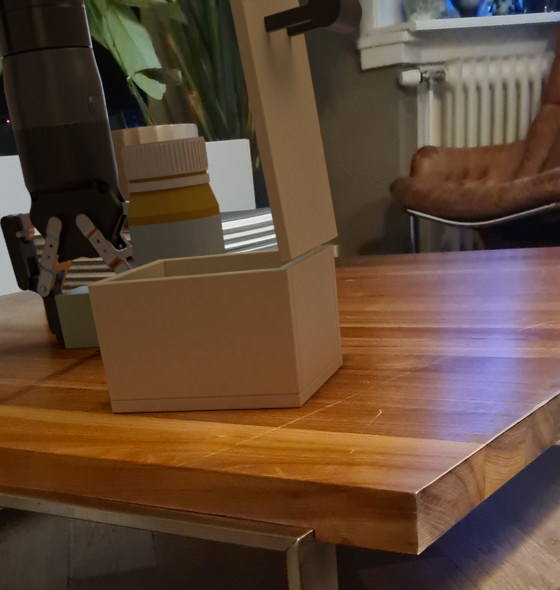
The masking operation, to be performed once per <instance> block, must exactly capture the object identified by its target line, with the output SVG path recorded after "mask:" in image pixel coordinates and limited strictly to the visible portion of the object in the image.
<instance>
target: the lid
mask: <svg viewBox="0 0 560 590" xmlns="http://www.w3.org/2000/svg"><path fill="white" fill-rule="evenodd" d="M229 3H230V4H229V5H230V10H231V15H232V19H233V25H234V31H235V35H236V36H235V37H236V40H237V45H238V50H239V56H240V61H241V65H242V71H243V75H244V81H245V88H246V92H247V97H248V103H249V107H250V112H251V117H252V122H253V127H254V132H255V137H256V142H257V147H258V153H259V158H260V163H261V168H262V173H263V178H264V184H265V188H266V194H267V198H268V205H269V209H270V214H271V221H272V225H273V230H274V235H275V241H276V245H277V249H278V251H279V256H280V261H281V262H284V261H289V260H292V259H294V258H296V257H298V256H300V255H302V254H304V253H306V252H308V251H310V250H312V249H314V248H316V247H318V246H320V245H325V243H328V242H330V241H331V240H334V239H335V238H337V237H339V234H338V229H337V222H336V217H335V211H334V204H333V199H332V193H331V187H330V180H329V174H328V168H327V163H326V158H325V151H324V144H323V139H322V133H321V127H320V119H319V115H318V109H317V103H316V97H315V92H314V86H313V85H314V84H313V79H312V73H311V68H310V67H311V66H310V61H309V56H308V50H307V49H308V48H307V44H306V37H305V34H307V33H311V32H314V31H319V30H322V29H325V30H330V31H334V32H337V33H342V34H349V33H352V32H354V31H355V30H356V29H357V28H358V27H359V26H360V23H361V21H362V18H363V9H362V5H361V3H360V1H359V0H307V3H305V4H302V5H300V2H299V0H229Z"/></svg>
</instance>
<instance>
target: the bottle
mask: <svg viewBox="0 0 560 590" xmlns="http://www.w3.org/2000/svg"><path fill="white" fill-rule="evenodd" d="M120 153H121V159H122V164H123V170H124V176H125V178H126V181H128V183H126V186H127V190H128V193H129V198H128V201H129V205H128V213H127V217H126V220H127V226H128V233H129V240H130V245H131V246H132V251H133V257H134V262H135V268H137V267H139V266H142V265H145V264H148V263H151V262H153V261H156V260H159V259H171V258H182V257H194V256H205V255H216V254H227V253H226V246H225V238H224V231H223V223H222V215H221V211H220V203H219V202H218V200H217V197H216V195H215V193H214V191H213V188H212V187H211V185H210V182H211V178H210V173H208V172H207V171H208V170H209V159H208V152H207V145H206V139H204V136H193V137H186V138H185V137H184V138H175V139H167V140H160V141H152V142H145V143H144V142H143V143H138V144H136V143H135V144H129V145H124V146H121V150H120Z"/></svg>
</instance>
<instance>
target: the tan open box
mask: <svg viewBox="0 0 560 590" xmlns="http://www.w3.org/2000/svg"><path fill="white" fill-rule="evenodd" d="M334 248H335V247H334V244H332V243H331V244H322V245H320V246H318V247H316V248H314V249H312V250H310V251H308V252H306V253H304V254H302V255H300V256H298V257H296V258H294V259H292V260H289V261H284V262H281V261H280V256H279V251H278V248H276V249H275V248H274V249H263V250H252V251H240V252H228V253H226V254H216V255H205V256H194V257H182V258H171V259H159V260H156V261H153V262H151V263H148V264H145V265H142V266H139V267H137V268H134V269H131V270H128V271H125V272H123V273H120V274H115V275H112V276H108V277H106V278H103V279H101V280H97V281H95V282H92V283H89V284H88V285H87V286H88V291H89V296H90V301H91V306H92V311H93V316H94V321H95V326H96V331H97V336H98V341H99V346H100V347H99V349H100V351H101V352H100V355H101V361H102V365H103V366H102V367H103V372H104V375H105V376H104V377H105V381H106V385H107V391H108V397H109V400H110V406H111V411H112V413H113V414H117V413H118V414H120V413H121V414H123V413H155V412H157V413H158V412H159V413H160V412H188V411H189V412H190V411H191V412H192V411H217V410H252V409H253V410H254V409H255V410H256V409H285V408H301V407H303V405H305V403H307V401H308V400H309V399H310V398H311V397H313V395H314V394H316V392H317V391H318V390H319V389H320V388H321V387H322V386H323V385H324V384H325V383H326V382H327V381H328V380H329V379H330V378H331V377H332V376H333V375H334V374H335V373H336V372H337V371H338V370H339V369H340V368H341V367H342V366H343V365H344V362H343V350H342V337H341V323H340V311H339V300H338V299H339V297H338V285H337V275H336V259H335V249H334Z"/></svg>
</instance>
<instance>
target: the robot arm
mask: <svg viewBox="0 0 560 590" xmlns="http://www.w3.org/2000/svg"><path fill="white" fill-rule="evenodd" d="M91 37H92V36H91V32H90V26H89V21H88V16H87V10H86V4H85V0H0V59H1V60H0V63H1V70H2V77H3V78H2V79H3V88H4V95H5V100H6V105H7V109H8V116H9V117H8V118H9V122H10V123H11V129H12V131H13V136H14V141H15V145H16V150H17V155H18V159H19V164H20V169H21V173H22V177H23V182H24V186H25V189H26V190H27V192H28V195H29V197H30V207H29V212H27V213H23V212H22V213H21V212H19V213H12V214H11V213H10V214H7V215H3V216H2V217H1V218H0V229H1V233H2V236H3V240H4V243H5V246H6V249H7V254H8V257H9V260H10V264H11V267H12V271H13V274H14V278H15V281H16V285H17V287H18V289H20V291H23V292H26V291H30V292H33V293H36V294H38V295H39V296H40V297H41V299H42V303H43V307H44V310H45V315H46V319H47V324H48V329H49V331H50V332H51V334H52V335H55V339H56V340H57V341H58V342H64V337H63V333H62V328H61V323H60V319H59V314H58V310H57V305H56V300H55V295H58V294H61V293H63V289H64V286H65V282H66V279H67V274H68V271H69V269H70V268H71V267H72V264H73V262H74V261H75V260H78V259H83V258H86V259H99V258H101V259H102V261H104V264H105V265H106V266H107V267H108V268H110V269H111V270H113V271H114V273H115V275H117V274H120V273H123V272H125V271H128V270H131V269H134V268H135V262H134V257H133V251H132V245H131V242H129V241H128V239H127V238H126V236H125V235H124V233H123V232H122V229H123V228H124V225H125V222H126V220H127V213H128V205H129V200H127V199H126V198H125V197H124V196H123V194H122V192H121V189H120V185H119V171H118V165H117V160H116V154H115V153H116V152H115V148H114V141H113V136H112V132H111V126H110V121H109V115H108V109H107V103H106V97H105V91H104V87H103V81H102V77H101V74H100V70H99V67H98V65H97V61H96V58H95V53H94V50H93V44H92V38H91ZM36 231H37V232H38V233H39V234H40V236H41V237H42V238H43V239H44V244H43V248H42V253H41V256H40V260H39V257H38V252H37V249H36V246H35V242H34V237H35V235H36Z"/></svg>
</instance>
